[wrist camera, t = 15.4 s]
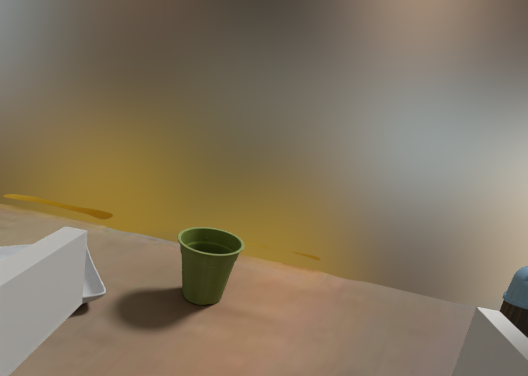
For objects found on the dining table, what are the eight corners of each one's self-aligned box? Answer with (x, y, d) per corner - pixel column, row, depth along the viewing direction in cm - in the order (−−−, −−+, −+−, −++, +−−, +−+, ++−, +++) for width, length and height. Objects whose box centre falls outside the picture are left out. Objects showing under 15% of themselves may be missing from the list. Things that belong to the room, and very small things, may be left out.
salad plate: (-53, 266, 62) (-54, 248, 61) (83, 254, 74) (84, 239, 73) (-74, 344, 45) (-74, 320, 45) (106, 311, 58) (108, 292, 57)
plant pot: (165, 311, 60) (173, 249, 58) (174, 276, 72) (181, 223, 69) (235, 317, 62) (246, 257, 60) (233, 282, 74) (242, 231, 71)
